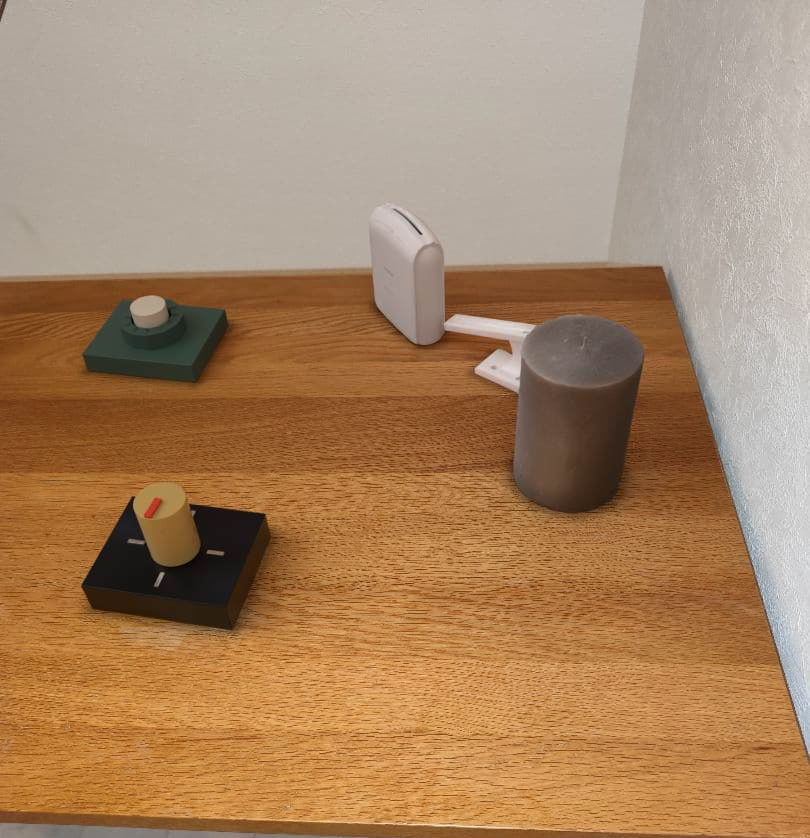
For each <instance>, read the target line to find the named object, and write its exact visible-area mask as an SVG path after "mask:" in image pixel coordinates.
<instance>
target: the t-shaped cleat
mask: <svg viewBox="0 0 810 838" xmlns="http://www.w3.org/2000/svg"><path fill="white" fill-rule="evenodd" d="M535 326H537V324H531V323H525V322H518V321H511V320H503V319H496V318H489V317H481V316H476V315H475V316H474V315H467V314H460V313H455V314H454V315H453V316H451V317H450V318H448V319H447V320H445V323H444V328H445V331H446V332H451V333H458V334H464V335H470V336H478V337H483V338H489V339H497V340H503V341H509V345H510V347H511V351H512V353H510V352H508V351H507V350H504V349H502V348H497V349H495V351H494V352H492V353H491V354H490V355H489V356H487V357H486V358H485V359H484V360H482V362H480V363H479V364H478V365H477V366H476V367H475V368H474V374H475V375H478V376H480V377H482V378H484V379H486V380H489V381H491V382H493V383H495V384H497V385H499V386H502V387H503V388H506V389H508V390H510V391H512V392H515V393H517V394H518V389H519V386H520V373H521V372H520V371H521V352H520V351H522V344H523V342H524V339H525V337H526V335H527V334H529V333H530V332H531V330H533V329H534V327H535Z"/></svg>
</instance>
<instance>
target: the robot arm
mask: <svg viewBox="0 0 810 838" xmlns="http://www.w3.org/2000/svg"><path fill="white" fill-rule="evenodd" d="M7 3H8V0H0V23H1V22H2V18H3V15H4V12H5V8H6V6H7Z"/></svg>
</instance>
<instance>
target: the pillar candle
mask: <svg viewBox="0 0 810 838" xmlns="http://www.w3.org/2000/svg"><path fill="white" fill-rule="evenodd" d="M520 352H521V371H520V372H521V373H520V386H519V389H518V393H517V394H518V397H517V409H516V410H517V411H516V424H515V437H514V450H513V452H514V453H513V459H512V461H513V462H512V464H513V466H512V468H513V473H512V474H513V478H514V480H515V484H516V486H517V488H518V489H519V490H520V492H521V493H522V494H523V495H524V496H525V497H527V498H528V499H529V500H530V501H532V502H534V503H535V504H538V505H539V506H542V507H545V508H548V509H551V510H554V511H555V510H556V511H560V512H564V513H565V512H566V513H576V512H577V513H582V512H586V511H591V510H592V509H597V508H598V507H601V506H603V505H604V504H607V502H608V501H610V500H611V499H613V497H615V496H616V494H617V493H618V492H619V486H620V481H621V480H622V476H623V472H624V466H625V462H626V454H627V451H628V447H629V440H630V435H631V428H632V425H633V418H634V413H635V407H636V402H637V398H638V393H639V389H640V382H641V378H642V373H643V368H644V361H645V349H644V345H643V343H642V341H641V340H640V338H639V337H638V336H637V334H635V333H634V332H633V331H632V330H630V329H629V328H628V327H626V326H625V325H623V324H621V323H618V322H616V321H613V320H610V319H607V318H605V317H600V316H594V315H586V314H582V313H578V314H565V315H562V316H556V318H553V319H551V320H544V321H542V323H541V324H538V325H537V324H536V326H535V327H534V329H533V330H531V332H530V333H529V334H527V335H526V337H525V339H524V342H523V344H522V351H520Z"/></svg>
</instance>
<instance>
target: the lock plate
mask: <svg viewBox="0 0 810 838" xmlns="http://www.w3.org/2000/svg"><path fill="white" fill-rule="evenodd" d="M135 497H136V496H131V497H130V499H129V501H128V503H127V504H126V506H125V507H124V510H123V512H122V513H121V514H120V515H119V518H118V520H117V522H115V523H116V524H115V525H114V527H113V529H112V531H111V532H110V534H109V536H108V537H107V539H106V541H105V543H104V544H103V546H102V548H101V549H100V551H99V553H98V555H97V557H96V558H95V560H94V562H93V563H92V566H91V567H90V569H89V571H88V572H87V574H86V576H85V578H84V580H83V581H82V583H81V585H80V587H81V589H82V591H83V593H84V595H85V597H86V599H87V601H88V603H89V605H90V607H91V609H93V610H99V611H106V612H113V613H118V614H124V615H125V614H126V615H132V616H137V617H145V618H151V619H157V620H164V621H170V622H175V623H176V622H177V623H184V624H188V625H189V624H190V625H195V626H202V627H210V628H216V629H222V630H228V631H233V630H234V628H235V625H236V623H237V620H238V618H239V615H240V613H241V610H242V608H243V606H244V602H245V600H246V599H247V596H248V593H249V591H250V588H251V586H252V584H253V581H254V579H255V576H256V574H257V572H258V569H259V567H260V564H261V562H262V559H263V557H264V555H265V552H266V550H267V547H268V545H269V542H270V540H271V533H270V528H269V524H268V523H269V522H268V519H267V515H266V513H262V512H256V511H248V510H240V509H232V508H225V507H217V506H210V505H202V504H194V503H189V506H190V509H191V513H192V516H193V519H194V522H195V525H196V529H197V532H198V535H199V538H200V542H201V546H200V550H199V552H198V553H197V555H196V556H195V557H194V558H193V559H192V560H190V561H189V562H187V563H185V564H182V565H179V566H173V567H169V566H163V565H160V564H158V563H157V562H155V561H154V560H153V558H152V556H151V553H150V551H149V548H148V545H147V543H146V540H145V538H144V535H143V532H142V530H141V527H140V524H139V522H138V519H137V516H136V514H135V511H134V508H133V502H134V499H135Z"/></svg>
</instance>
